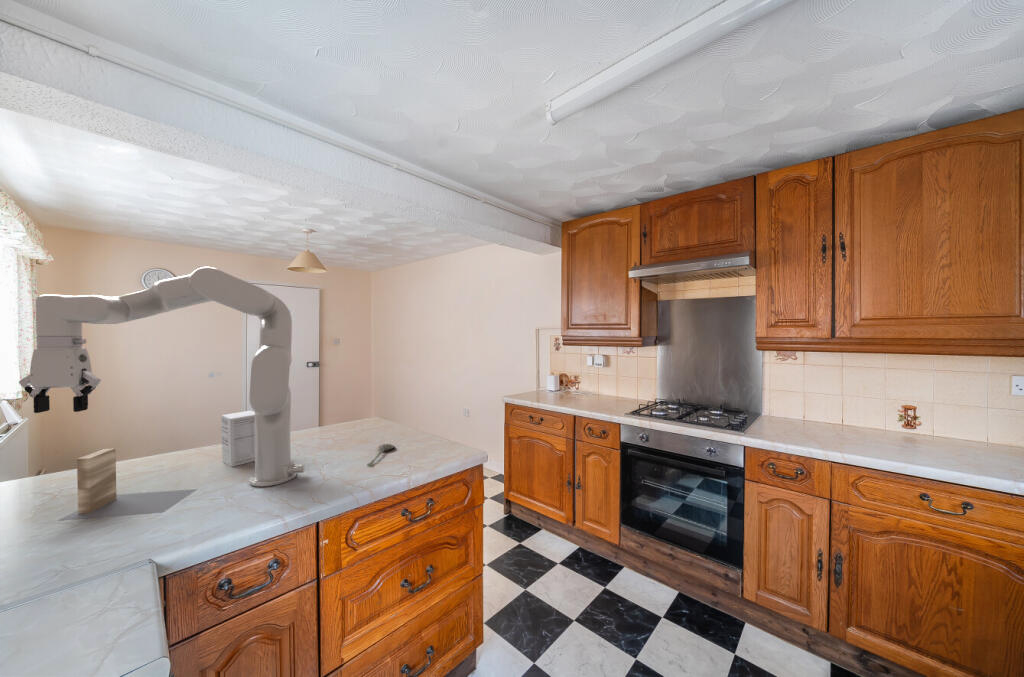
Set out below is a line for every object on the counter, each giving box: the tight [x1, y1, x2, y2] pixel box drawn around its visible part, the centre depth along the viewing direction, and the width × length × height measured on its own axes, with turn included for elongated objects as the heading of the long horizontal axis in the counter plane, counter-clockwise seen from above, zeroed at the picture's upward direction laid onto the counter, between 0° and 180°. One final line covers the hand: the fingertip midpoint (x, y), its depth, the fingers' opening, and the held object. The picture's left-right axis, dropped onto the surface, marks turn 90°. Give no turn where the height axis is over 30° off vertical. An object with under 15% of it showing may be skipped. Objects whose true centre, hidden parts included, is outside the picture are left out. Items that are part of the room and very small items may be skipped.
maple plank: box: [76, 447, 117, 514], centre depth 99 cm, size 3×8×14 cm, turn 12°
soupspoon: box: [366, 443, 396, 467], centre depth 140 cm, size 22×3×7 cm
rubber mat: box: [57, 488, 198, 521], centre depth 100 cm, size 22×14×1 cm, turn 101°
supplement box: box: [220, 410, 255, 468], centre depth 134 cm, size 10×9×17 cm
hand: (61, 410), depth 97 cm, fingers open, 7 cm apart
